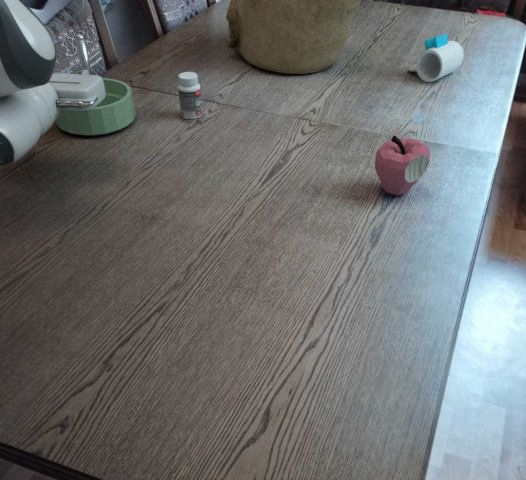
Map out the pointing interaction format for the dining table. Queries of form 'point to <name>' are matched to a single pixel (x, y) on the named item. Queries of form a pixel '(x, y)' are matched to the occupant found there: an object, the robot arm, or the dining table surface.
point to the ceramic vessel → (290, 32)
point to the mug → (438, 58)
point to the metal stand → (83, 54)
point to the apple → (401, 164)
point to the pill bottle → (189, 95)
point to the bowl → (102, 112)
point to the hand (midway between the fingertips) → (60, 72)
